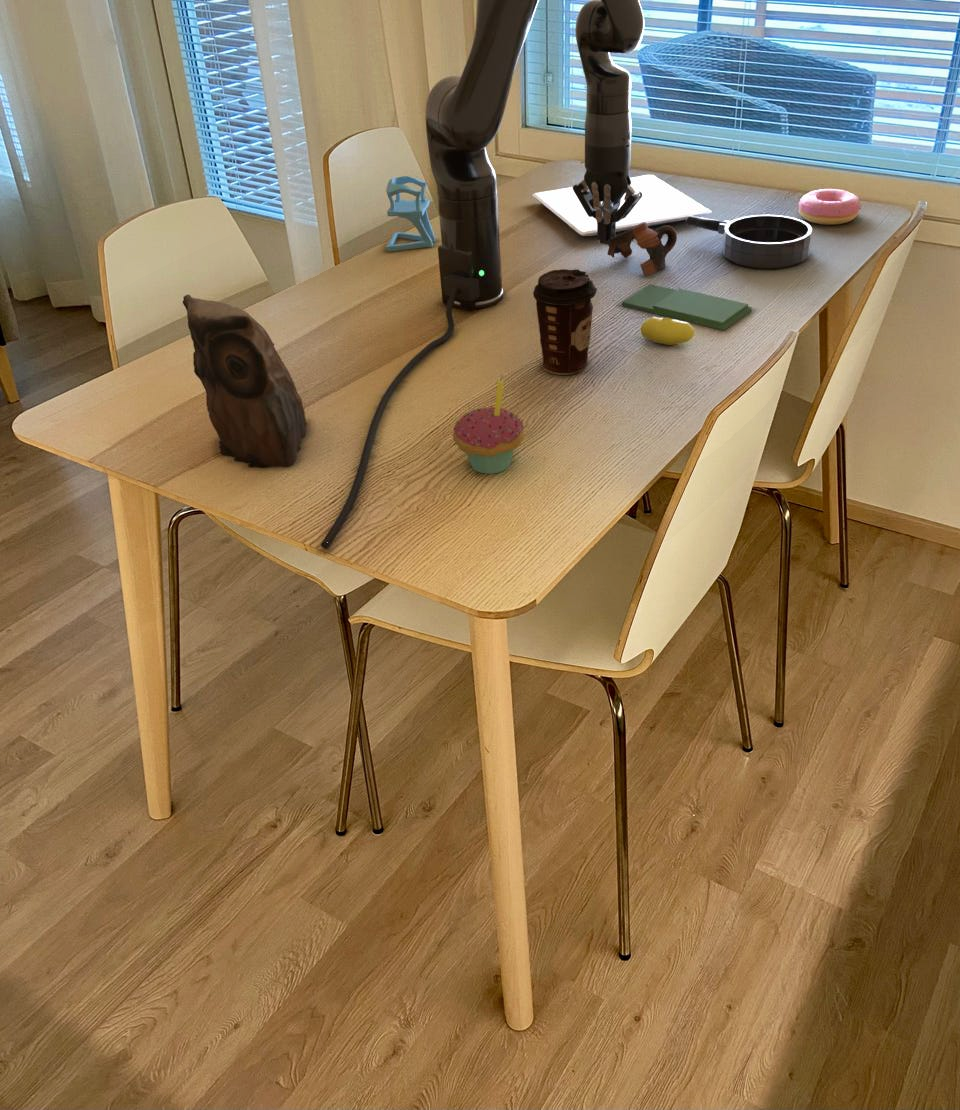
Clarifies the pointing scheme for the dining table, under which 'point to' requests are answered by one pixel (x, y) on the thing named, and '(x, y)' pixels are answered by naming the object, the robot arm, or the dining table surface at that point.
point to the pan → (767, 241)
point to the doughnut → (829, 206)
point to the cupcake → (489, 436)
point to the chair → (410, 213)
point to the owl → (245, 385)
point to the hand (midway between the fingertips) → (606, 242)
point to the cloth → (688, 306)
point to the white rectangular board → (652, 208)
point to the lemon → (666, 330)
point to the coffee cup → (564, 319)
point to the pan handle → (707, 223)
